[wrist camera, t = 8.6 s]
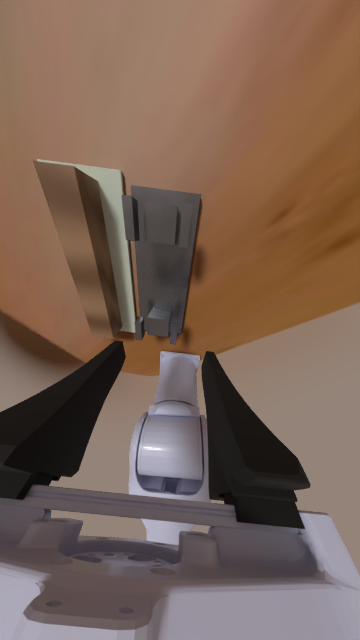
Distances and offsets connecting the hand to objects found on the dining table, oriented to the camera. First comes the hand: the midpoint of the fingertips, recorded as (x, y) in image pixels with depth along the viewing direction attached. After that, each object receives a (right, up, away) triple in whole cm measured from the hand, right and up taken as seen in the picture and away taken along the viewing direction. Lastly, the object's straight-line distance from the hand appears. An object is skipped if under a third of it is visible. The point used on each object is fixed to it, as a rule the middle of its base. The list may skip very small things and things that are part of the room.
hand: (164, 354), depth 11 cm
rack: (-1, +9, +7) cm, 11 cm away
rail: (-9, +10, +6) cm, 15 cm away
